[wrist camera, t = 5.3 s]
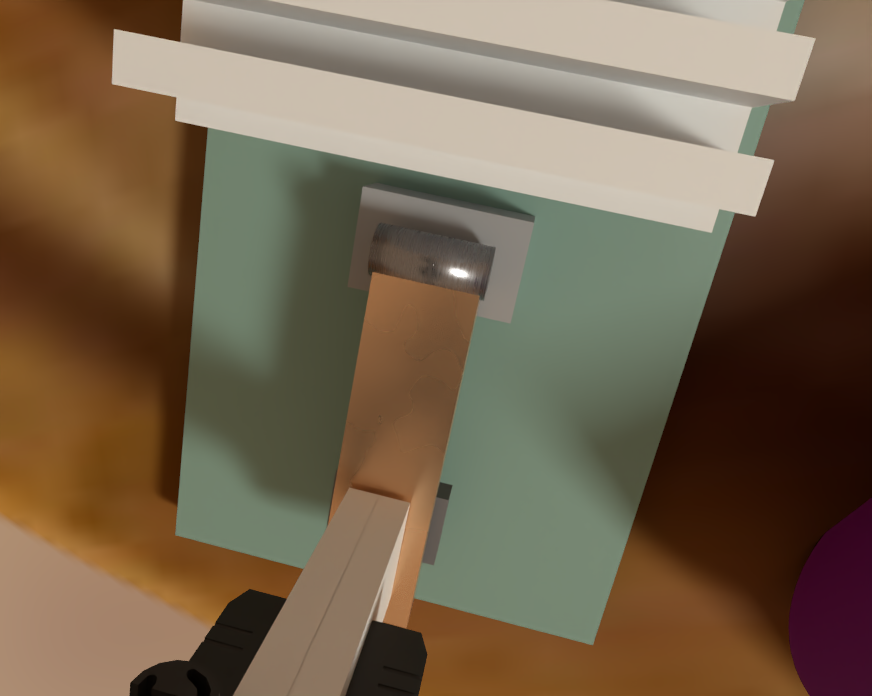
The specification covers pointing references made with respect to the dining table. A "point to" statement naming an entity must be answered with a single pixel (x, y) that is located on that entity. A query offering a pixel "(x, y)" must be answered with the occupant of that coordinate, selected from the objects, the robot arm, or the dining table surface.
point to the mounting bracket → (836, 611)
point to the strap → (410, 380)
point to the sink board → (471, 221)
